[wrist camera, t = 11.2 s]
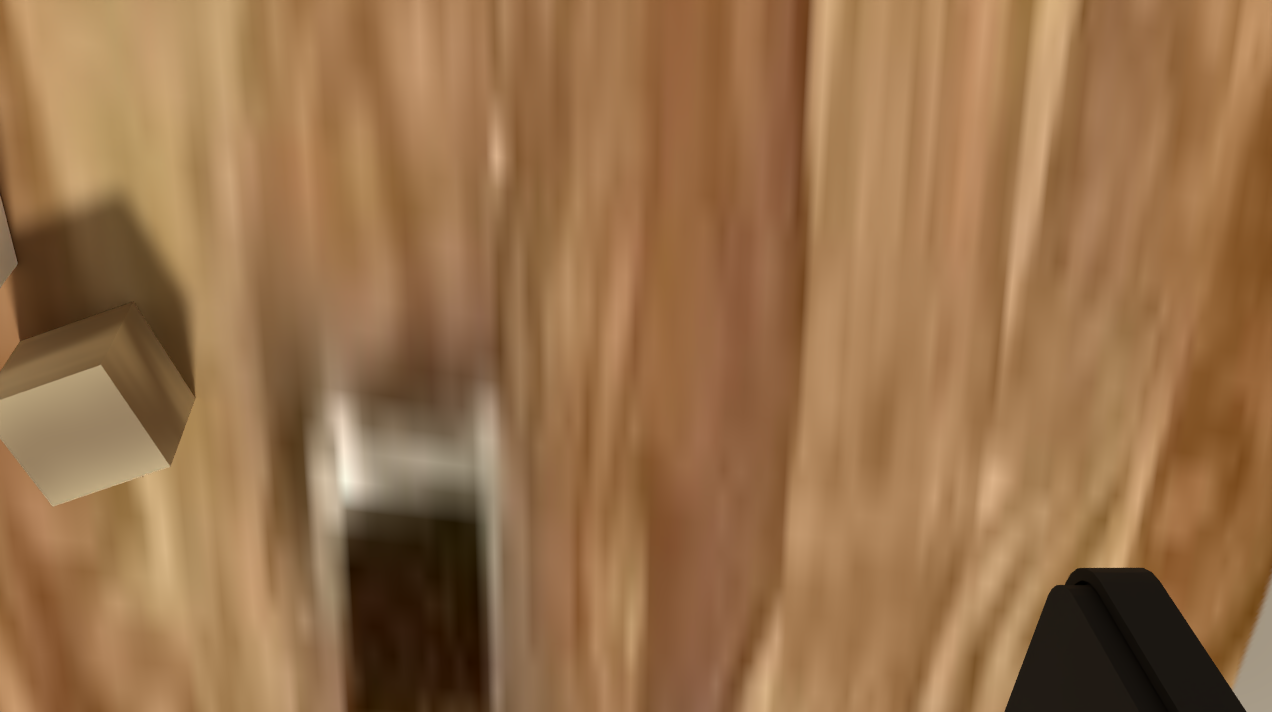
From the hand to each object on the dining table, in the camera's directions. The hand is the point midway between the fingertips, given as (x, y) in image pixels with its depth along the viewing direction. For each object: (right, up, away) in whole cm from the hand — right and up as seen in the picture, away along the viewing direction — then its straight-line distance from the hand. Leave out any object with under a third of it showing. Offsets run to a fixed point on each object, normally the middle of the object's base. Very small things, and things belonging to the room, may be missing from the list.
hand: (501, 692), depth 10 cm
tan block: (-16, +2, +29) cm, 34 cm away
